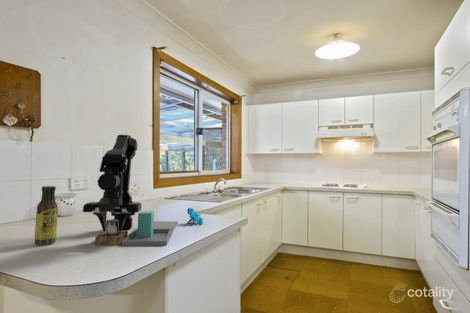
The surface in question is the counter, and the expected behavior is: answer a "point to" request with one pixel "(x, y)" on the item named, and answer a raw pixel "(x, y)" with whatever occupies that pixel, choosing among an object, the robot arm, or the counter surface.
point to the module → (145, 223)
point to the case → (158, 238)
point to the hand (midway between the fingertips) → (112, 231)
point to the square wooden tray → (110, 238)
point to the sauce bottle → (46, 217)
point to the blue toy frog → (194, 216)
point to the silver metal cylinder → (112, 227)
